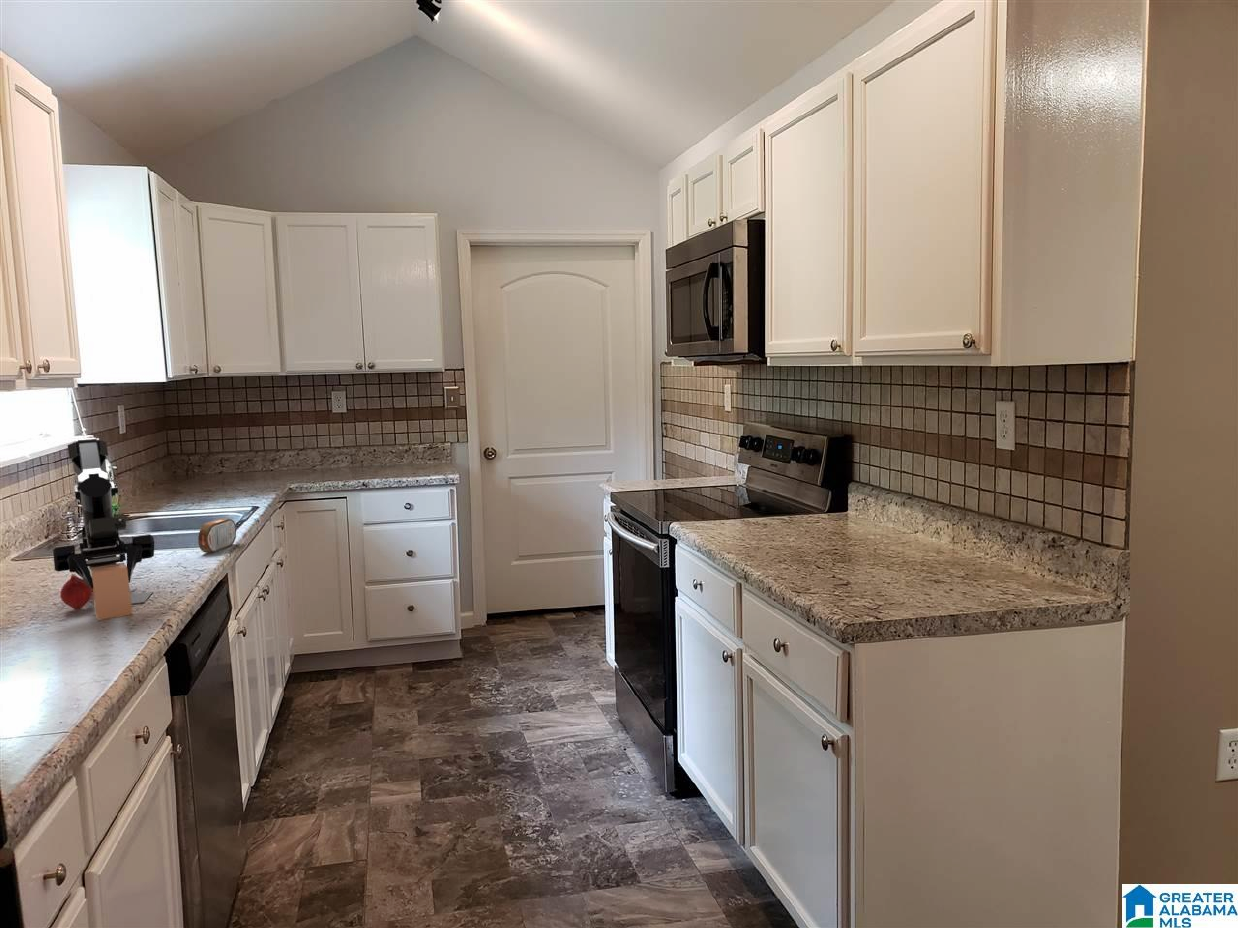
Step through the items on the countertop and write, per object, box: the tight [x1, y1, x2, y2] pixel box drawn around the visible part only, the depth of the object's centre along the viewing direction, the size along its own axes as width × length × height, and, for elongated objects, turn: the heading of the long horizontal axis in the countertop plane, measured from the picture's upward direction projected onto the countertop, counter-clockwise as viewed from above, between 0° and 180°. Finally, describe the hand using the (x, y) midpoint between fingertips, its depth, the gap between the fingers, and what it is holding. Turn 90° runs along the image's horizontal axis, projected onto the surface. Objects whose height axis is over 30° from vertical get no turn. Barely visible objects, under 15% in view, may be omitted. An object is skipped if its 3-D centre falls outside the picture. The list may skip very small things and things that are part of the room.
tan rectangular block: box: [90, 562, 133, 621], centre depth 190 cm, size 6×6×10 cm
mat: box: [130, 591, 154, 606], centre depth 202 cm, size 9×9×1 cm
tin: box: [197, 517, 237, 554], centre depth 252 cm, size 15×3×8 cm, turn 172°
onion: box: [59, 573, 93, 611], centre depth 195 cm, size 6×6×8 cm
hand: (110, 584), depth 189 cm, fingers closed on tan rectangular block, 6 cm apart
